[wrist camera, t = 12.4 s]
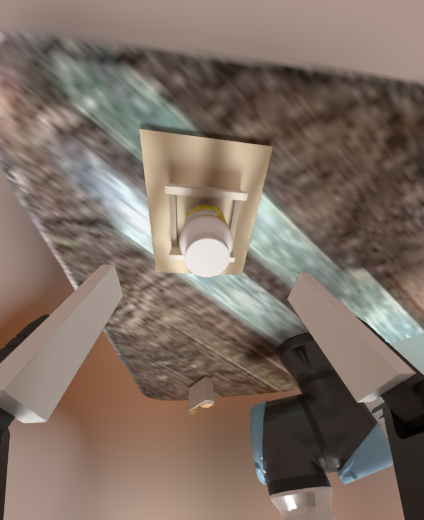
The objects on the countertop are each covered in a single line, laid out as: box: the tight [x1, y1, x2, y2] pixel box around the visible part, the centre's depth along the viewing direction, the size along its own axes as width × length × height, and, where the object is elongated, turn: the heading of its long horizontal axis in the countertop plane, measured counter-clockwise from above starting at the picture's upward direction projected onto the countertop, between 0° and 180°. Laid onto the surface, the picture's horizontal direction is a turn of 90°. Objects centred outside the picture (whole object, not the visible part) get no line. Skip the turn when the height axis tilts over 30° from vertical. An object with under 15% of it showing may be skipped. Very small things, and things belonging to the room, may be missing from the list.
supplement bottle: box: [179, 203, 233, 277], centre depth 19 cm, size 6×6×11 cm
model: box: [188, 376, 214, 415], centre depth 53 cm, size 3×11×8 cm, turn 143°
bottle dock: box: [139, 129, 273, 275], centre depth 22 cm, size 16×20×5 cm
